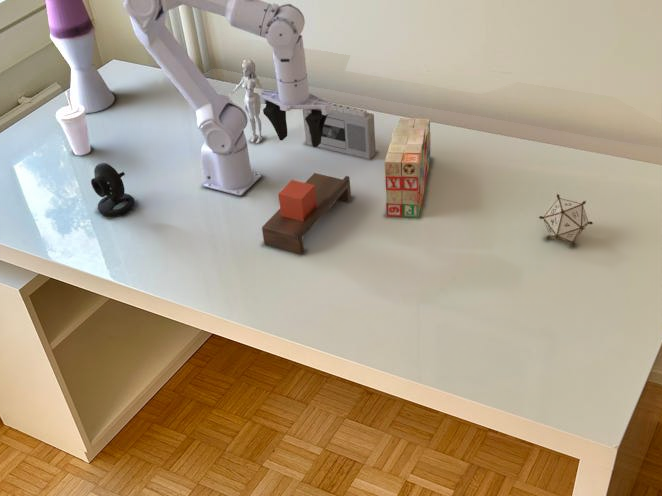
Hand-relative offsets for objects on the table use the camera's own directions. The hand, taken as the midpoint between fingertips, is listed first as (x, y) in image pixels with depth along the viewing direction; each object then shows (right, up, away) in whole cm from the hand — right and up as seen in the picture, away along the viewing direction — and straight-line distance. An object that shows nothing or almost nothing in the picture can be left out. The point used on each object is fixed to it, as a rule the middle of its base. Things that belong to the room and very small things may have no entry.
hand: (300, 141), depth 171 cm
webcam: (-38, -12, +8) cm, 40 cm away
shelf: (+2, -16, -2) cm, 16 cm away
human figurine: (-10, +6, +23) cm, 26 cm away
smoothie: (-49, +4, +26) cm, 56 cm away
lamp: (-51, +20, +42) cm, 69 cm away
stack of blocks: (+22, -8, +4) cm, 24 cm away
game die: (+48, -21, -12) cm, 54 cm away
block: (0, -15, -6) cm, 16 cm away
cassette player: (+8, +3, +17) cm, 19 cm away
